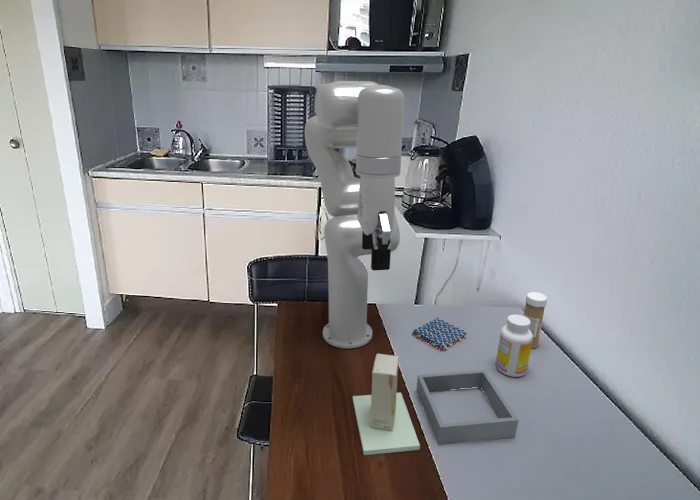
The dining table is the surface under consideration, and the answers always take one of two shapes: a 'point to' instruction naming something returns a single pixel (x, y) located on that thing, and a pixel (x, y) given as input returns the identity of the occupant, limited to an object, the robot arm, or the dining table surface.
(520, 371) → the supplement bottle
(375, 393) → the skincare box
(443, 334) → the woven mat
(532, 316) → the sprinkles bottle
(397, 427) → the pad
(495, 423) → the bin
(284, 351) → the dining table surface
